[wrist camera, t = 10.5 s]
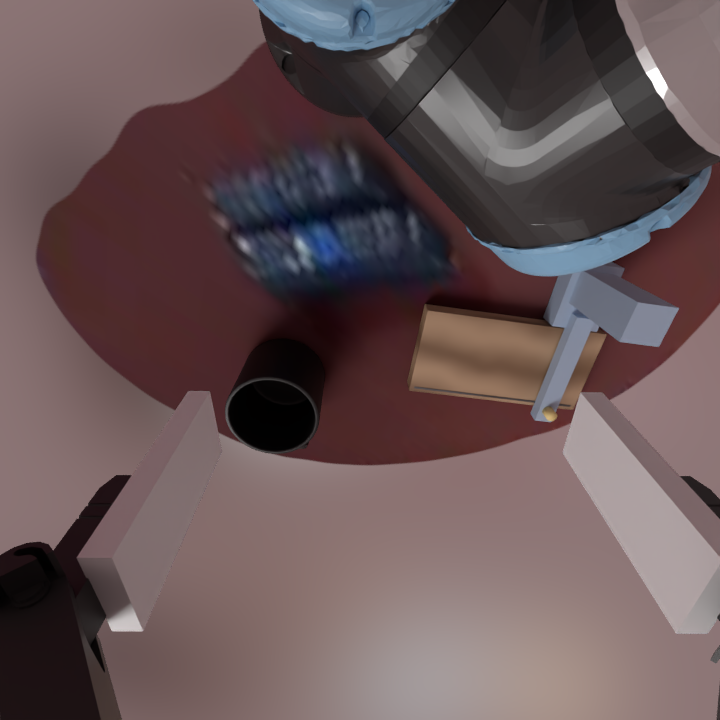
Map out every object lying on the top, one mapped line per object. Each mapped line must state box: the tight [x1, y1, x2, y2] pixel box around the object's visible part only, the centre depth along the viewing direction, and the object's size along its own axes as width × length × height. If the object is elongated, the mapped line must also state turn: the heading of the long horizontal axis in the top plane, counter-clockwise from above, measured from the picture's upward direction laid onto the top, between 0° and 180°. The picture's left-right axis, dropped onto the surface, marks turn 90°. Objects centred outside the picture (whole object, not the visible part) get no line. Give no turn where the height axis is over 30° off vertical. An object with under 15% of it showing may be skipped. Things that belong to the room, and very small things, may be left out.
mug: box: [225, 339, 325, 454], centre depth 47 cm, size 9×12×9 cm
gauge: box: [530, 262, 679, 422], centre depth 43 cm, size 18×5×12 cm, turn 172°
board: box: [407, 304, 607, 410], centre depth 48 cm, size 10×20×2 cm, turn 82°
